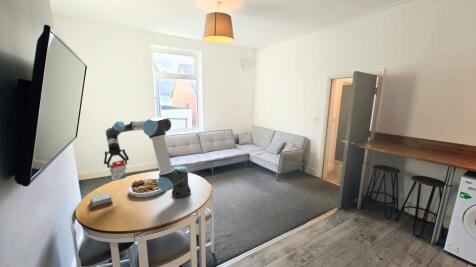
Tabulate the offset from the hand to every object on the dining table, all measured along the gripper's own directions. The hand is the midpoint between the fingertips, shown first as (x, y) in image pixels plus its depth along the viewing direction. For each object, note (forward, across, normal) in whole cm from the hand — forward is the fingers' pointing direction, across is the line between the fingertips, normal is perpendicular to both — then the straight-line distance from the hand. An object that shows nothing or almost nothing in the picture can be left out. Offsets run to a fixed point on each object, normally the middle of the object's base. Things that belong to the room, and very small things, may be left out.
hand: (118, 169), depth 154 cm
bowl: (+14, -21, -22) cm, 33 cm away
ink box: (+4, 0, -8) cm, 9 cm away
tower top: (+14, +13, -18) cm, 26 cm away
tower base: (+16, +13, -20) cm, 29 cm away
